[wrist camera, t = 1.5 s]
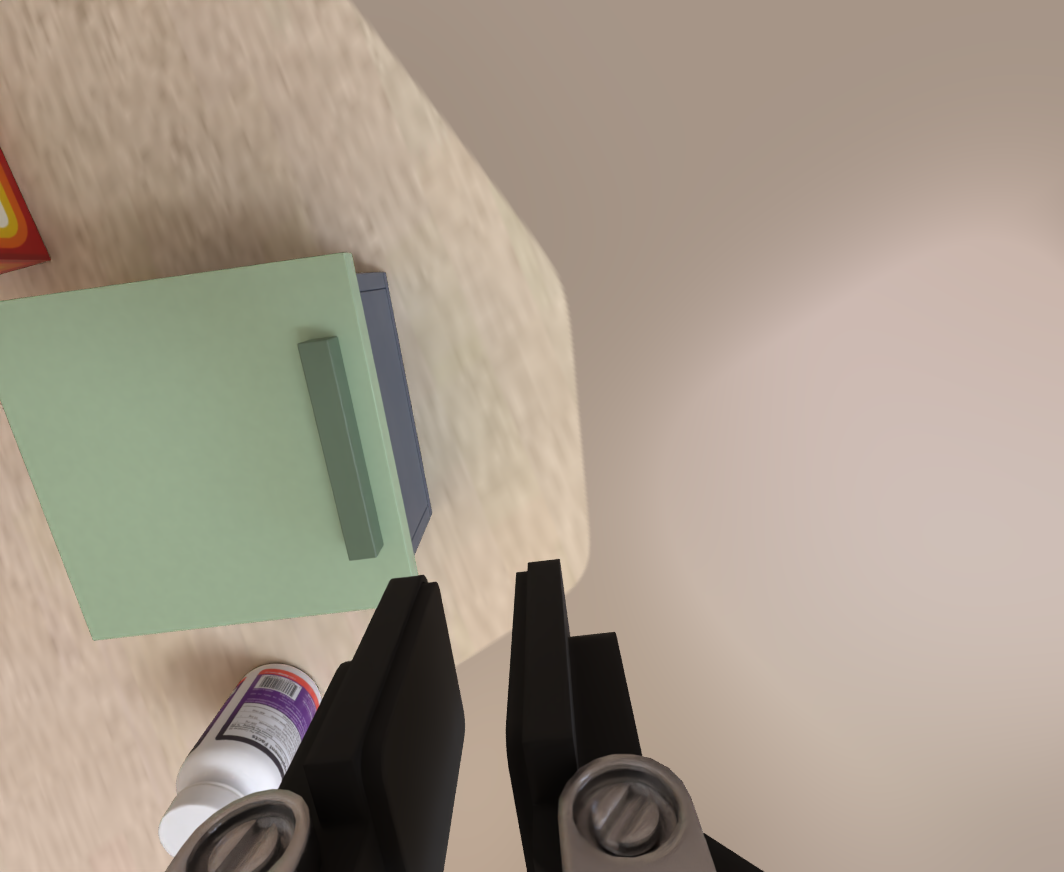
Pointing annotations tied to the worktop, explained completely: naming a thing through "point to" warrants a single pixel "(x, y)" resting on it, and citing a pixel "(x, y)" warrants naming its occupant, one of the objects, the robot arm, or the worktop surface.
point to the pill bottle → (242, 748)
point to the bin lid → (209, 445)
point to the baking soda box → (17, 227)
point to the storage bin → (396, 401)
